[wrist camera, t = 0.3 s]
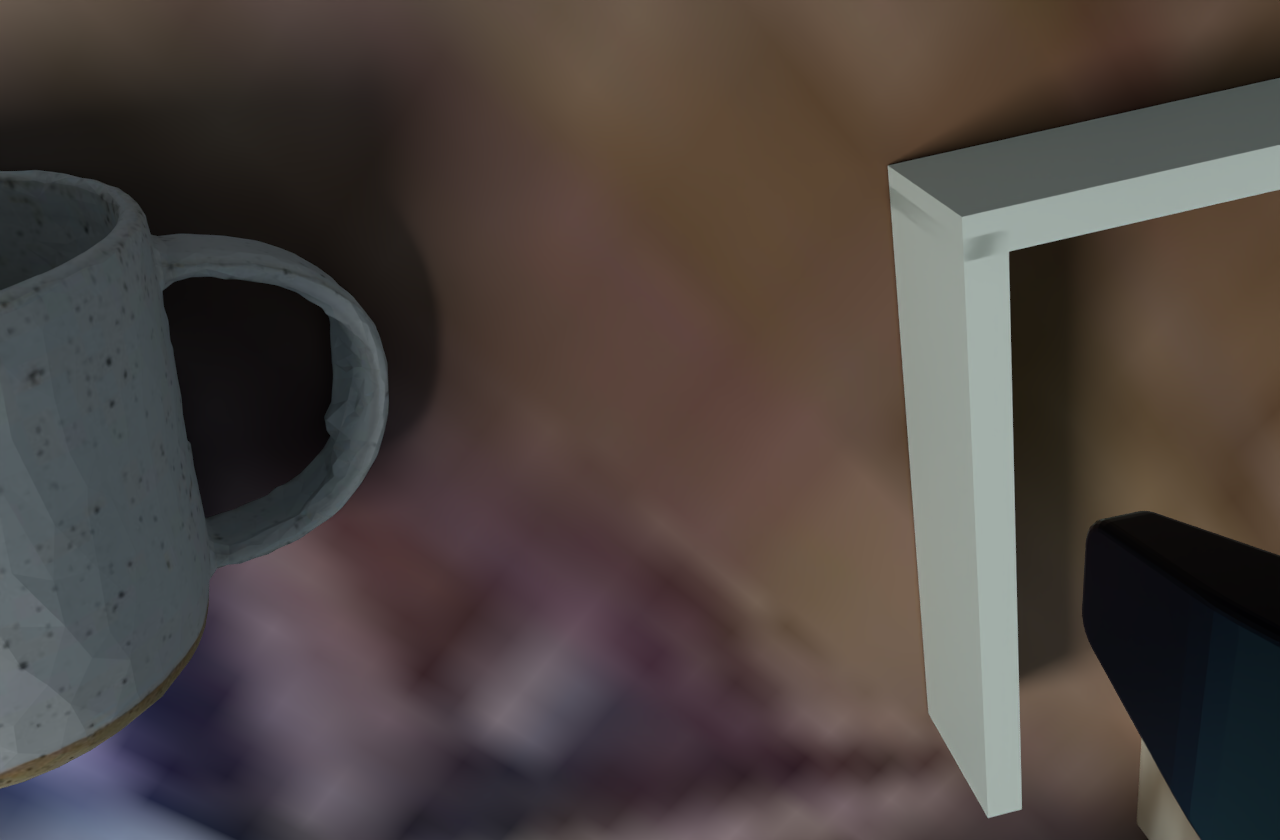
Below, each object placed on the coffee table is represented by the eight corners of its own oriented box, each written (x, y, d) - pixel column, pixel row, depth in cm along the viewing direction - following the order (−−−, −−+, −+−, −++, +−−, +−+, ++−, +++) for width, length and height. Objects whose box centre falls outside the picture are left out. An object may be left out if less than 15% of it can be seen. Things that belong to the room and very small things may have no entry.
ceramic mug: (-122, 590, 22) (-354, 908, 16) (-297, 186, 19) (-702, 374, 12) (416, 519, 24) (416, 782, 17) (353, 130, 20) (322, 270, 13)
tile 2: (1297, 774, 32) (1375, 857, 29) (1132, 817, 32) (1195, 904, 29) (1318, 637, 30) (1404, 714, 27) (1139, 682, 29) (1209, 764, 27)
